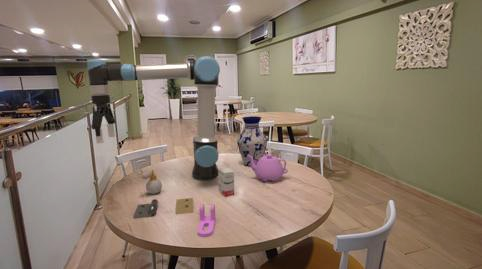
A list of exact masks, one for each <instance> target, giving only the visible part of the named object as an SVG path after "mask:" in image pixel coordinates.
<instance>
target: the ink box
mask: <svg viewBox="0 0 482 269" xmlns="http://www.w3.org/2000/svg"><path fill="white" fill-rule="evenodd" d="M217 168H218V167H217ZM217 178H218V191H219V193H221V194H222V195H223V196H224V197H225V198H226V197H231V196H235V172H234V170H232V169H230V168H229V167H228V166H225V167H219V168H218V177H217Z"/></svg>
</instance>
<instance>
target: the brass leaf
mask: <svg viewBox="0 0 482 269" xmlns="http://www.w3.org/2000/svg"><path fill="white" fill-rule="evenodd" d="M193 199H194V198H193V197H190V198H189V197H188V198H180V199H179V198H177V199H176V201H175V202H176V203H175V214H176V215H179V214H180V215H181V214H182V215H183V214H190V213H194V204H193V203H194V200H193Z"/></svg>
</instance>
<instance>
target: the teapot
mask: <svg viewBox="0 0 482 269" xmlns="http://www.w3.org/2000/svg"><path fill="white" fill-rule="evenodd" d="M247 156H248V157H249V158H250V161H251V167H250V168H251V170H252V171H253V172H254V174H255V175H256V177H257V178H259V179H260V183H264V182H266V181H272V183H278V182H279V181H278V180H279V179H281V178H282V176H283V175H284V174H285V175H286V174H288V172H289V170H288V168H286V167H287V160H286V159H285V158H278V157H277V156H275V155H272V153H267V154H265V155H264V156H263V157H261V158H260V159H259V161H258V162H257V164H256V165H255V164H254V161H253V157H252V156H250V155H247ZM281 161H282V162H284V163H283V164H282V162H281Z"/></svg>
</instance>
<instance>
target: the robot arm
mask: <svg viewBox="0 0 482 269" xmlns="http://www.w3.org/2000/svg"><path fill="white" fill-rule="evenodd" d="M86 64H87V66H86V67H87V71H86V72H87V76H88V82H89V90H90V94H91V102H92V104H93V105H95V106H92V117H91V118H92V119H91V120H92V121H91V128H92V130H94V132H95V140H96V144H104V142H105V140H104V137H103V136H104V134H103V128H101V127H102V122H103V117H104V119H105V120H106V122H107V124H106V127H107V133H108V134H107V136H108V138H115V137H116V134H115V128H114V124H116V121H115V116H114V114H113V113H114V112H113V110H112V108H111V97H110V95H109V94H110V89H109V82H130V81H149V80H151V81H154V80H170V79H171V80H173V79H174V80H175V79H189V80H190V81H193V80H194V84H193V85H194V86H195V87H196V88H197V136H194V137H193V138H192V144H193V160H194V161H193V162H194V163H193V167H192V171H191V178H192V179H194V180H197V181H198V180H199V181H209V180H213V179H217V178H219V177H218V166H217V164H216V163H217V162H218V160H219V154H220V153H219V151H218V138H217V137H216V136H215V132H216V131H215V130H216V129H215V127H216V125H215V124H216V122H215V121H216V114H215V113H216V89H217V87H219V75H220V73H221V68H220V65H219V61H217V60H216V59H215V58H214V57H212V56H210V55H207V56H201V57H199V58H198V59H196V60H188V61H187V62H184V63H162V64H161V63H158V64H157V63H156V64H136V65H133V64H131V63H121V64H120V63H117V64H107V63H106V60H104V59H89V60H88V61H87V62H86Z"/></svg>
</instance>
